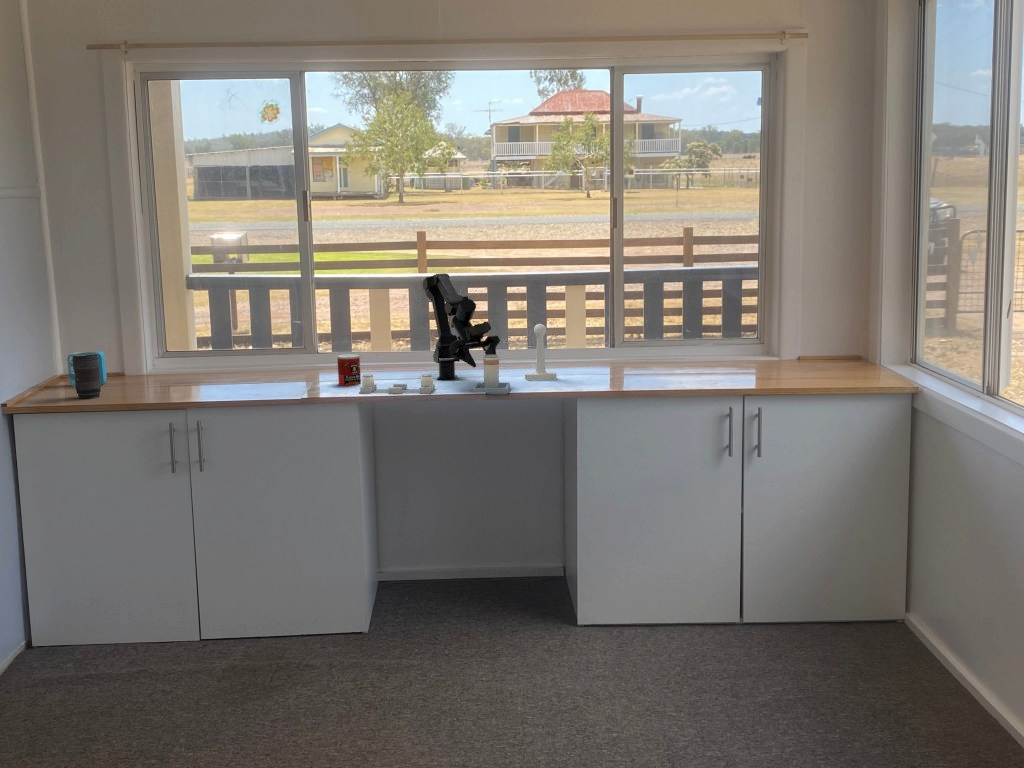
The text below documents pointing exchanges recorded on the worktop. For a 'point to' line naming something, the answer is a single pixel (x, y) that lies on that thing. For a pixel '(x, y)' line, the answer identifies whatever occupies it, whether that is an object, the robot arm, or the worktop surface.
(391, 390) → the block
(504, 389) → the tray
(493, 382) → the copper banded cylinder
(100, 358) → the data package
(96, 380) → the camera lens
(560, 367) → the worktop surface
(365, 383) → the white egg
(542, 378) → the joystick
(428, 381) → the small fuse
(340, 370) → the canned food
